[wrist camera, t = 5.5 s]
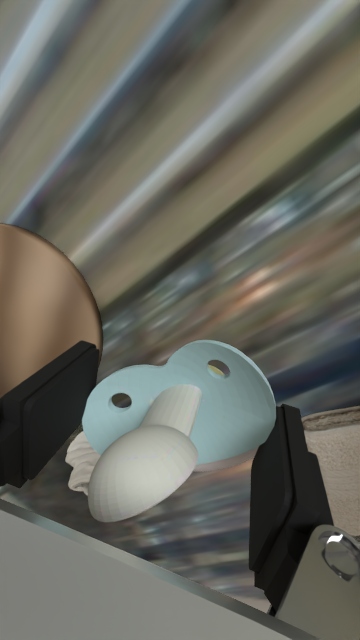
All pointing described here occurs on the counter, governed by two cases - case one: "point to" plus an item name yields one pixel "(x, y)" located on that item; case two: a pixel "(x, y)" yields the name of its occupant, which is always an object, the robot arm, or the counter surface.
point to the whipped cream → (81, 463)
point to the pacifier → (173, 426)
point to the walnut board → (40, 306)
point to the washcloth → (338, 462)
